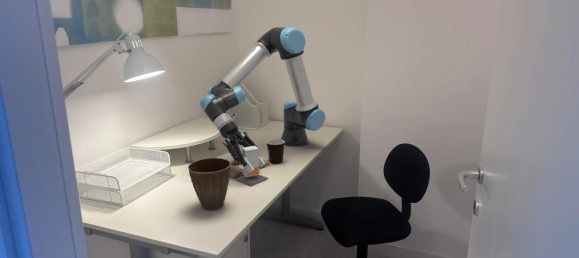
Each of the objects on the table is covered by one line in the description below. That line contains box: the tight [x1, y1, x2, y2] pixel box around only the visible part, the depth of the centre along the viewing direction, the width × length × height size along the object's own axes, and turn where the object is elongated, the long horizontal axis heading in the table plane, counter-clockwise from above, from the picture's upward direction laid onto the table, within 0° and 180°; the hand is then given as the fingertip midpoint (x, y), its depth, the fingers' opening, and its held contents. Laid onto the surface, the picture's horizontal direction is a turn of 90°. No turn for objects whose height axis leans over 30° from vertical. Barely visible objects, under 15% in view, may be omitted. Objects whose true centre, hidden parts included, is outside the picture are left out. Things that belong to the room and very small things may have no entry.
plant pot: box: [187, 157, 231, 211], centre depth 139 cm, size 15×15×16 cm
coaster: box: [234, 174, 269, 187], centre depth 164 cm, size 10×10×1 cm
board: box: [229, 158, 271, 181], centre depth 176 cm, size 22×14×2 cm, turn 138°
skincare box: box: [241, 145, 260, 177], centre depth 162 cm, size 6×4×12 cm
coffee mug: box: [266, 138, 285, 165], centre depth 185 cm, size 12×9×10 cm
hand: (257, 168), depth 160 cm, fingers closed on skincare box, 7 cm apart
